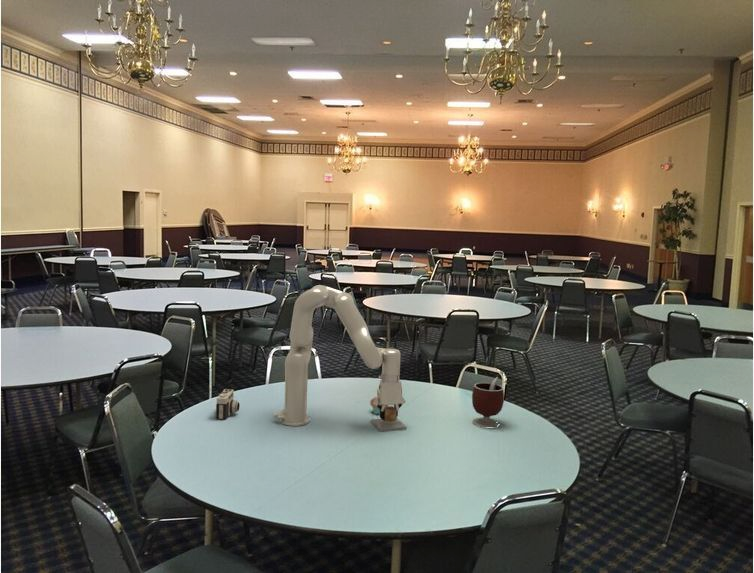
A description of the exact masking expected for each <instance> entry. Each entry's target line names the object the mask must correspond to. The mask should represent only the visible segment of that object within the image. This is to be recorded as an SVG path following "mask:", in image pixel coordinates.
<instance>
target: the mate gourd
mask: <svg viewBox="0 0 754 573" xmlns="http://www.w3.org/2000/svg"><path fill="white" fill-rule="evenodd" d="M498 379H499V376H496V377H495V378H494V379H493V380H492V381H491V383H490V382H476V383H474V385H473V389H472V395H471V396H472V397H471V402H472V408H473V410H474V411H475V412H476V413H477V414H479V415H480V416H482V417H476V418H473V419H472V422H471V423H472V424H473V425H474V424H475V425H477V426H480V427H479V428H481V427H497V425H498V424H499V423H500V421H498V420H495V419H493V418H490V417H494V416H498V415H499V413H500V412H501V411H502V410H503V406H504V402H505V401H504V400H505V393H504V392H505V391H504V386H502V385H500V384H497V381H498ZM497 421H498V423H496V422H497ZM475 425H474V426H475ZM477 426H476V427H477Z"/></svg>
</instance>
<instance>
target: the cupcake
mask: <svg viewBox="0 0 754 573" xmlns="http://www.w3.org/2000/svg"><path fill="white" fill-rule="evenodd" d="M378 389H379V387H377V388H376V397H373V398H372V399H370V403H369V404H370V406H371V407H372V411H373V414H376V415H380V409H379V408H378V407H377V406H375V405H374V404H373V402H374V400H375V399H376V398H377V397H378ZM378 404H379V405H380V402H378ZM387 406H389V405H385V407H387Z"/></svg>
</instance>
